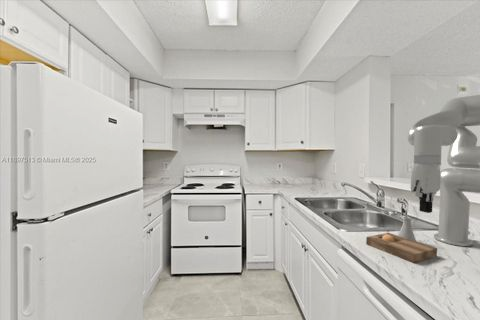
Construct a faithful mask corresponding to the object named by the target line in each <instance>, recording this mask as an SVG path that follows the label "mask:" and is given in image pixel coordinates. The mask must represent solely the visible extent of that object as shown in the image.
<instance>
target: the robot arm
mask: <svg viewBox="0 0 480 320" xmlns="http://www.w3.org/2000/svg"><path fill="white" fill-rule="evenodd" d="M474 126H475V127H478V126H480V94H476V95H468V96H462V97H461V96H460V97H455V98H452V99H450V100H448V101H447V102H446V103H445V104H444V105H443V107H441V109H440V110H439V111H438V112H436V113H433V114H431V115H428V116H426V117H423V118H421V119H419V120H418V121H416V122H415V123H414V124H413V125H412V127H411V128H410V129H409V131H408V133H407V142H408V143H409V144H410V145H411V146H413V149H414V150H413V166H412V170H411V171H412V172H411V178H410V191H411V192H412V193H413V192H414V193H415V197H418V201H419V212H422V213H427V214H431V213H433V201H434V198H435V197H434V196H435V195H436V194H437V192H439V212H438V213H439V214H438V232H437V233H434V234H433V238H434V239H435V240H437V241H439V242H441V243H445V244H449V245H453V246H460V247H472V246H473V245H474V242H473V241H472V240H471V239H469V235H471V232H470V231H469V223H470V206H471V205H470V204H471V203H470V200H469V198H468V197H467V196H466V194H465V193H463V192H466V193H475V194H480V145H477V142H478V137H477V135H476V134H475V133H474V132H472V130H470V129H469V128H468V127H474ZM447 146H449V148H448V153H447V159H446V162H447V164H448V165H449V166H450V167H451V168H444V169H442V170H441V168H440V166H441V165H442V147H447Z"/></svg>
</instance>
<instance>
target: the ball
mask: <svg viewBox="0 0 480 320" xmlns="http://www.w3.org/2000/svg"><path fill="white" fill-rule="evenodd" d="M382 239H384V240H387V241H389V242H394V238H393V237H392V236H390V235H384V236H383V237H382Z"/></svg>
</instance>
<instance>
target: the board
mask: <svg viewBox="0 0 480 320" xmlns="http://www.w3.org/2000/svg"><path fill="white" fill-rule="evenodd" d="M384 235H390V236H392V237H393V238H394V242H389V241H387V240H384V239H382V237H383V236H384ZM365 241H366V242H365V244H366V245H367V246H369V247H372V248H375V249H377V250H380V251H382V252H385V253H387V254H390V255H392V256H395V257H398V258H399V259H403V260H405V261H407V262H410V263H412V264H415V263H419V262H420V263H421V262H424V261H426V260H428V259H429V260H431V259H433V258H437V256H438V248H437V247H434V246H431V245H429V244H428V245H427V244H424V243H421V242H418V241H417V240H416V241H413V240H410V239H407V238H403V237H400V236H398V234H394V233H391V232H385V233H380V234H375V235H369V236H366V239H365Z"/></svg>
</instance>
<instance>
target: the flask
mask: <svg viewBox="0 0 480 320" xmlns="http://www.w3.org/2000/svg"><path fill="white" fill-rule="evenodd" d="M402 219H403V220H402V226H401V228H400V229H399V232H398V234H397V236H400V237H403V238H407V239H410V240H413V241H416V242H417V240H416V237H415V233H414V231H413V228H412V223H411V222H412V217H408V216H404V217H403V216H402Z"/></svg>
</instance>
